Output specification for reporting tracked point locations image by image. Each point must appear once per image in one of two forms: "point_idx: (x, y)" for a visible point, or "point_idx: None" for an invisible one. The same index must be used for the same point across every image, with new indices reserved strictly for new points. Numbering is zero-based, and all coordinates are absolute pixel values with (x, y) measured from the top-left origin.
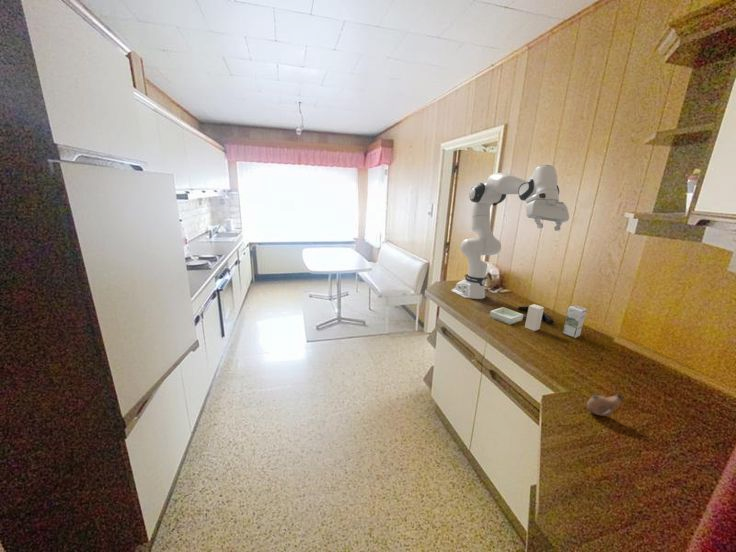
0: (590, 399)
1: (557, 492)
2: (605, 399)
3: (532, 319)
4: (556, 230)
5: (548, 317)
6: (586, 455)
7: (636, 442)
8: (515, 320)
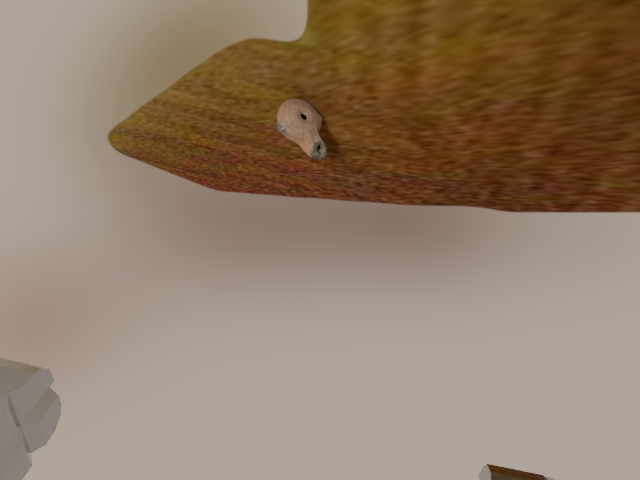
0: (278, 117)
1: (135, 130)
2: (292, 140)
3: None
4: (507, 477)
5: None
6: (209, 127)
7: None
8: None
